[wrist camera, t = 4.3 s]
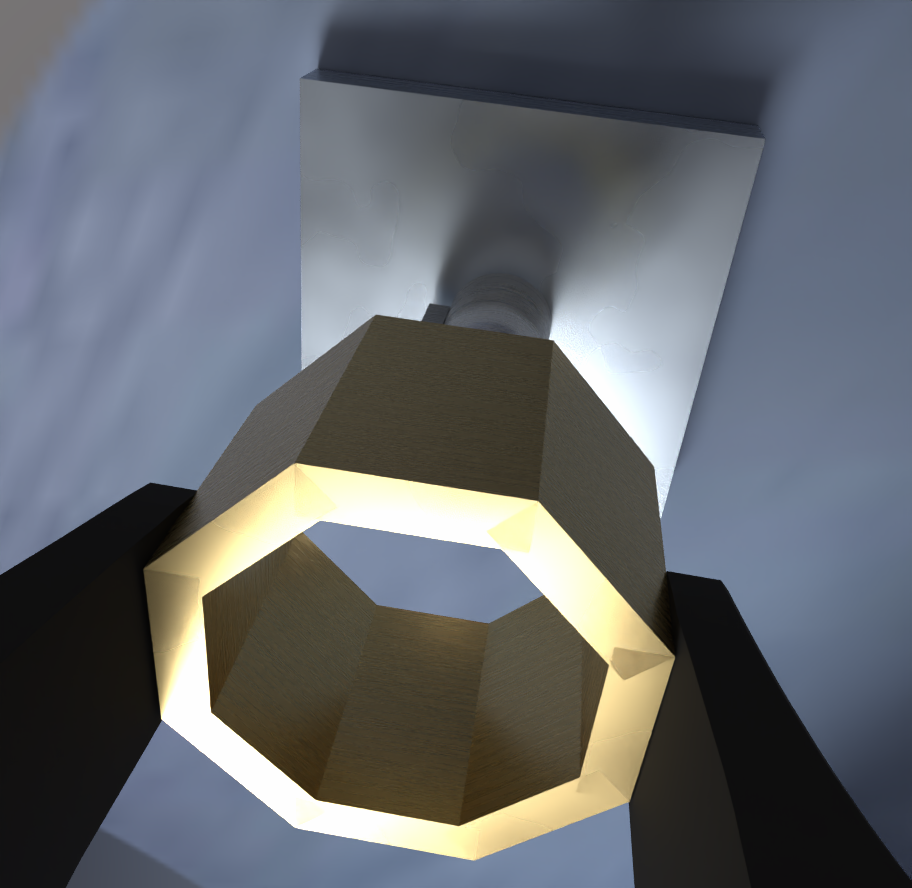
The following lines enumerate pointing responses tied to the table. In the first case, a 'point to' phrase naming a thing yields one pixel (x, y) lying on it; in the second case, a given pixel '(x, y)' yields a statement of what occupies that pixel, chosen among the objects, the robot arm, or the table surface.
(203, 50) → the table surface
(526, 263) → the shaft block
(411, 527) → the collar
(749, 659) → the robot arm
